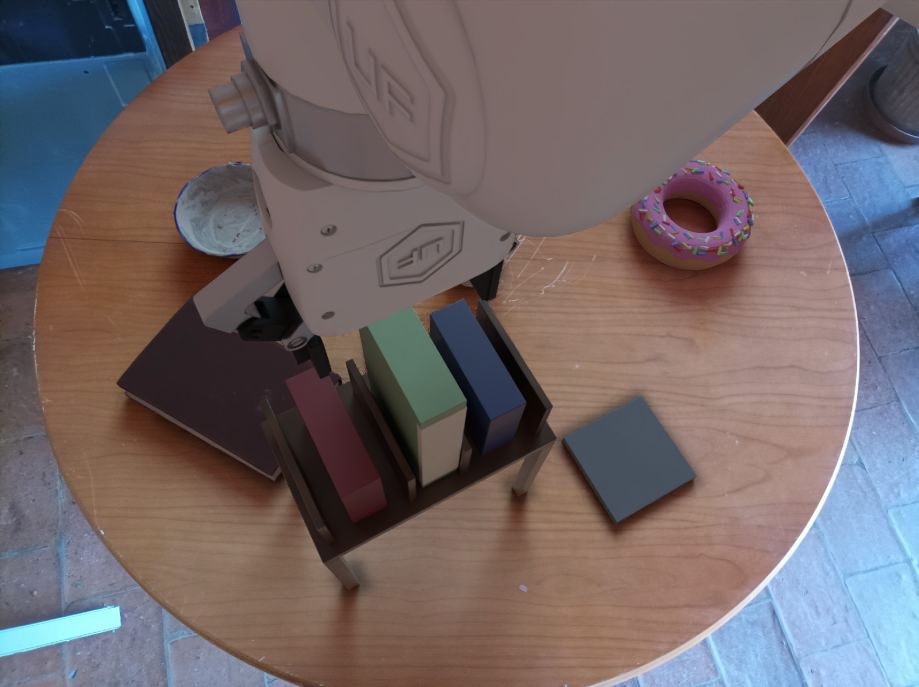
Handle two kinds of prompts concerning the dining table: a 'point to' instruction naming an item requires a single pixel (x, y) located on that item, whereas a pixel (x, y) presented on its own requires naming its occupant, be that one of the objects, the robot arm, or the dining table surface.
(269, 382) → the book
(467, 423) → the navy book
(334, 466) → the burgundy book
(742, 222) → the donut
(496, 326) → the rack
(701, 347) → the dining table surface
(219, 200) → the bowl
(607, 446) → the mat
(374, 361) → the green book
